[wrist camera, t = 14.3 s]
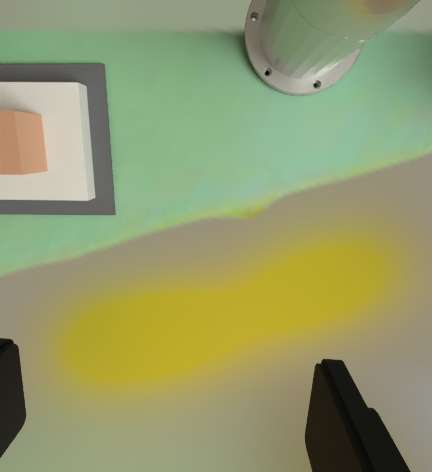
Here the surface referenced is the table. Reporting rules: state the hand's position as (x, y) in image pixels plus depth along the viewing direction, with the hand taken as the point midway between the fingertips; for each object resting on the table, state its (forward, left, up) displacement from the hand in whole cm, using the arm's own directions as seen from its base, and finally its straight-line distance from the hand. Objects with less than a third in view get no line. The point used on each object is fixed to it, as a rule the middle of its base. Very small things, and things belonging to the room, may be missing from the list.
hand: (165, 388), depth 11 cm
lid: (+8, -20, -32) cm, 39 cm away
